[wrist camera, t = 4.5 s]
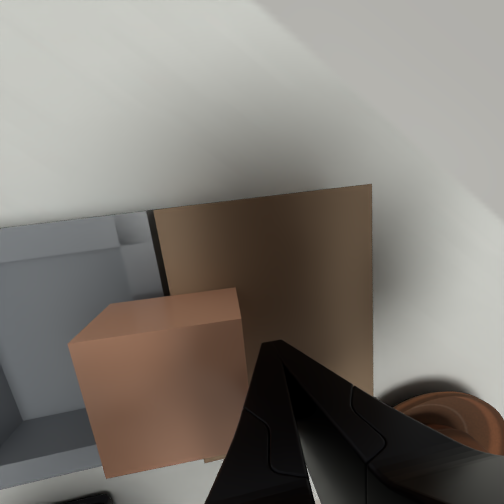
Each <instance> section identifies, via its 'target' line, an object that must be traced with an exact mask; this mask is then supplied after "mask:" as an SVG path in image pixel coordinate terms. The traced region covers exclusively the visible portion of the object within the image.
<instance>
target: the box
mask: <svg viewBox="0 0 504 504" xmlns="http://www.w3.org/2000/svg"><path fill="white" fill-rule="evenodd" d="M156 210H158V209H156ZM165 296H170V291H169V286H168V281H167V276H166V271H165V266H164V261H163V256H162V251H161V246H160V242H159V237H158V232H157V227H156V222H155V217H154V212H153V210H148V211H139V212H131V213H123V214H114V215H106V216H98V217H89V218H81V219H73V220H64V221H56V222H47V223H39V224H31V225H22V226H14V227H6V228H0V490H1V489H5V488H10V487H14V486H18V485H22V484H27V483H31V482H35V481H39V480H44V479H48V478H52V477H56V476H61V475H65V474H69V473H73V472H78V471H82V470H86V469H90V468H95V467H99V466H102V463H101V459H100V456H99V452H98V449H97V445H96V442H95V438H94V435H93V431H92V428H91V425H90V421H89V418H88V414H87V411H86V407H85V404H84V400H83V397H82V393H81V390H80V386H79V383H78V379H77V376H76V372H75V369H74V365H73V362H72V358H71V355H70V351H69V348H68V343H69V342H70V341H71V340H72V339H73V338H74V337H75V336H76V335H77V334H78V333H79V332H81V331H82V330H83V329H84V328H85V327H86V326H87V325H88V324H89V323H90V322H91V321H92V320H93V319H94V318H96V317H97V316H98V315H99V314H100V313H101V312H102V311H103V310H104V309H105V308H106V307H107V306H108V305H109V304H112V303H120V302H127V301H135V300H142V299H150V298H158V297H165Z"/></svg>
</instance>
